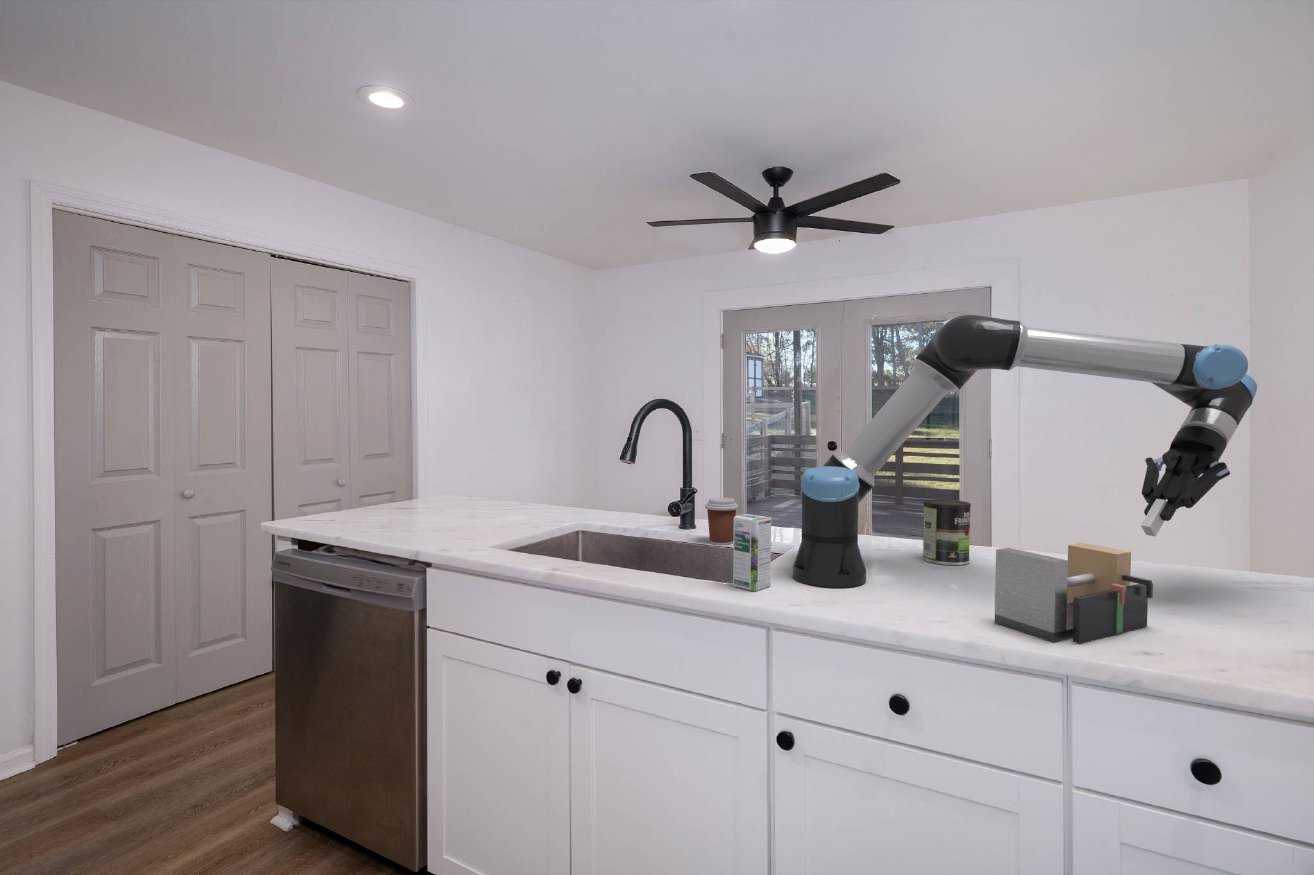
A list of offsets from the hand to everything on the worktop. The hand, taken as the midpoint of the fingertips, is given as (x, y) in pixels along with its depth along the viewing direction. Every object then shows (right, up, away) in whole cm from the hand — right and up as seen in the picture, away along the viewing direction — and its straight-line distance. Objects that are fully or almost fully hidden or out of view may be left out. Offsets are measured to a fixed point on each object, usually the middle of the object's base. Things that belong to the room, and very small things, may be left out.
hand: (1148, 530), depth 112 cm
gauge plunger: (-14, -13, -7) cm, 20 cm away
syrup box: (-69, -14, +14) cm, 72 cm away
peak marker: (-16, -9, -14) cm, 23 cm away
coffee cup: (-71, -12, +57) cm, 92 cm away
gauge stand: (-19, -14, -9) cm, 26 cm away
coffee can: (-20, -13, +36) cm, 43 cm away
